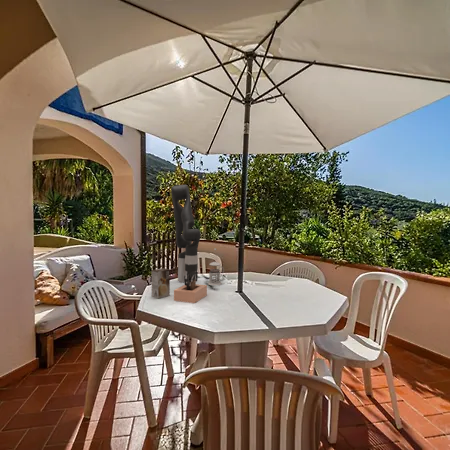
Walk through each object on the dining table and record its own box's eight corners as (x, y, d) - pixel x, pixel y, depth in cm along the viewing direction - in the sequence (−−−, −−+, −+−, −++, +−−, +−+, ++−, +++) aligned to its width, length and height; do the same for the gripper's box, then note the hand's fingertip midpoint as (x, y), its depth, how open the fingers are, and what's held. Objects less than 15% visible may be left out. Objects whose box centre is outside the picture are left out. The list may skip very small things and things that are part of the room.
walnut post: (189, 296, 190) (189, 279, 189) (195, 297, 189) (195, 280, 188) (186, 298, 186) (186, 281, 186) (192, 298, 185) (192, 281, 184)
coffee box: (162, 293, 195) (163, 267, 194) (170, 295, 191) (170, 269, 190) (151, 296, 188) (151, 270, 187) (158, 298, 184) (158, 271, 183)
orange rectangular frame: (187, 292, 198) (187, 283, 197) (206, 295, 194) (207, 285, 193) (173, 300, 181) (173, 290, 180) (194, 303, 177) (194, 292, 176)
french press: (205, 282, 226) (206, 247, 224) (220, 281, 231) (221, 247, 229) (210, 285, 217) (211, 249, 216) (226, 284, 222) (226, 248, 220)
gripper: (190, 260, 194) (190, 287, 195) (180, 264, 181) (179, 293, 181) (202, 261, 192) (201, 288, 193) (192, 265, 178) (191, 294, 179)
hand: (191, 290), depth 187 cm, fingers open, 6 cm apart
